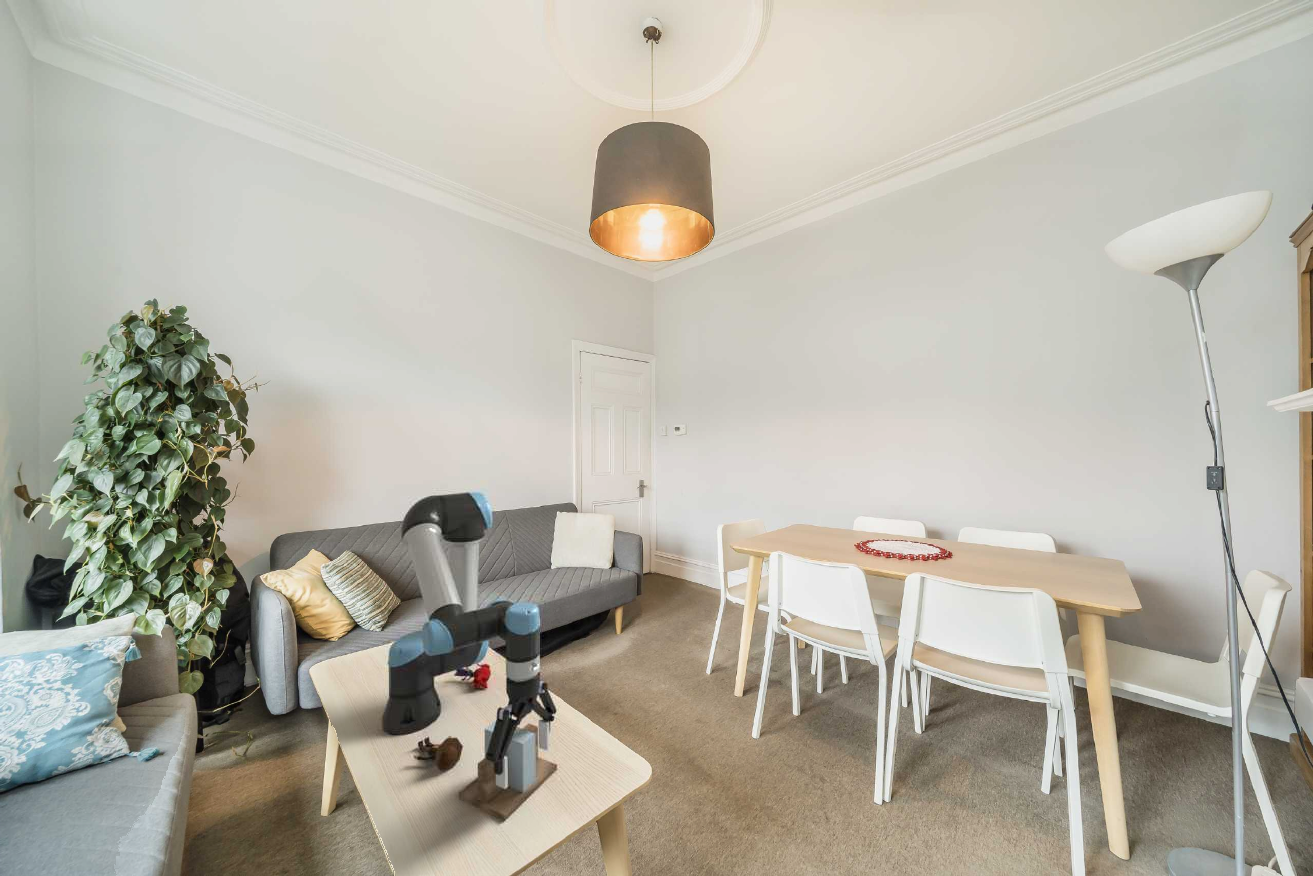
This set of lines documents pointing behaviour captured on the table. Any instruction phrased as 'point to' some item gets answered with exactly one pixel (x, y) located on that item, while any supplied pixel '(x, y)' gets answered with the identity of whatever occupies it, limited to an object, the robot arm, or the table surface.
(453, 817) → the table surface
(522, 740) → the grey-blue slab
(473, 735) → the table surface
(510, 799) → the walnut stand
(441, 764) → the toy
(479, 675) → the figurine
